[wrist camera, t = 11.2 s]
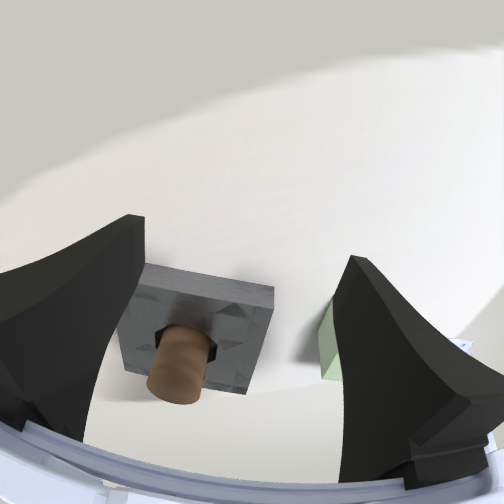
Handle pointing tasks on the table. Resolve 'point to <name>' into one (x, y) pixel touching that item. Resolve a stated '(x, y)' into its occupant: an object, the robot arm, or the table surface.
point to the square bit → (329, 348)
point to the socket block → (198, 322)
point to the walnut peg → (179, 364)
